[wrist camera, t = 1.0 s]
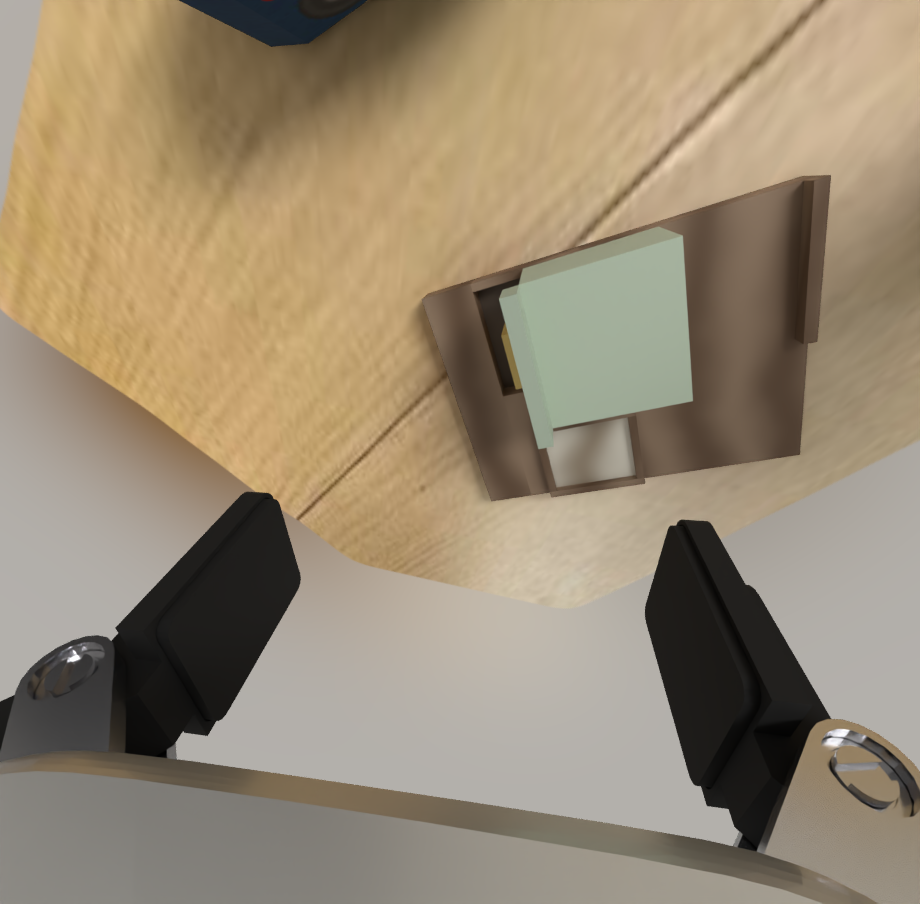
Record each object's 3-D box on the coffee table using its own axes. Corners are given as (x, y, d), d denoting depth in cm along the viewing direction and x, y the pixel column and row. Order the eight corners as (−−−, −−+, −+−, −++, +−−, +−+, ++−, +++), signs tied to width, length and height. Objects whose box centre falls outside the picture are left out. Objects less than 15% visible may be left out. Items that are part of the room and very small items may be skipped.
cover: (658, 226, 28) (696, 240, 21) (670, 368, 33) (705, 418, 26) (509, 272, 31) (498, 299, 24) (539, 396, 36) (538, 449, 29)
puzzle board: (802, 176, 27) (830, 175, 25) (788, 442, 37) (807, 462, 34) (427, 293, 35) (417, 303, 32) (493, 489, 44) (490, 508, 42)
